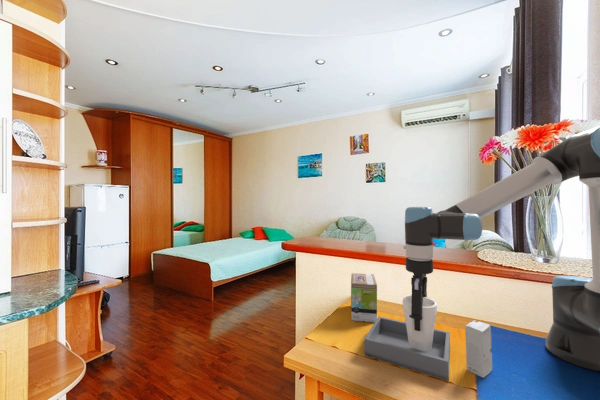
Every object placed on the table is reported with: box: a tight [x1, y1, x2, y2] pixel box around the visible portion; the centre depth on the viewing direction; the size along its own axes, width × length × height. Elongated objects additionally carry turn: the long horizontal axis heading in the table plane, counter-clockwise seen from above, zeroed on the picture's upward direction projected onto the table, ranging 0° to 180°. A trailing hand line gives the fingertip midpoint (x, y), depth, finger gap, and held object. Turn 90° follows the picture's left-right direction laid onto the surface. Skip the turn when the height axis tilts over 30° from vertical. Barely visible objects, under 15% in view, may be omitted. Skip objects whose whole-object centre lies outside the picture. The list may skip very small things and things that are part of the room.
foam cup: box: [402, 294, 438, 351], centre depth 77 cm, size 10×9×13 cm
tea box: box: [350, 272, 378, 323], centre depth 105 cm, size 15×10×15 cm, turn 168°
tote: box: [363, 316, 451, 382], centre depth 78 cm, size 22×17×5 cm
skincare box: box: [464, 319, 493, 378], centre depth 70 cm, size 6×4×12 cm
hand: (420, 332), depth 76 cm, fingers closed on foam cup, 9 cm apart
